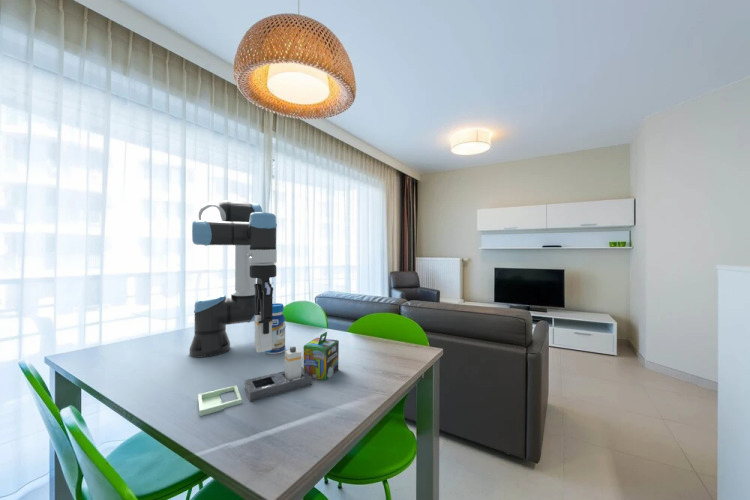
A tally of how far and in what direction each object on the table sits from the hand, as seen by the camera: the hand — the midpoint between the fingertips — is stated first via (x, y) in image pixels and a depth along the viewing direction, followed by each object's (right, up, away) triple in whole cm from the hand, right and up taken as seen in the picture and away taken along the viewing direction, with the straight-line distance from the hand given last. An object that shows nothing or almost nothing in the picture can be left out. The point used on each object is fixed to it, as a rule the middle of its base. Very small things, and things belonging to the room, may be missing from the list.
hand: (263, 342), depth 85 cm
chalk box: (+15, -16, +13) cm, 25 cm away
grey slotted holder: (+4, -16, +3) cm, 16 cm away
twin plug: (+7, -15, +5) cm, 17 cm away
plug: (0, -2, 0) cm, 2 cm away
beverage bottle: (-9, -16, +36) cm, 41 cm away
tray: (-10, -16, -5) cm, 19 cm away
